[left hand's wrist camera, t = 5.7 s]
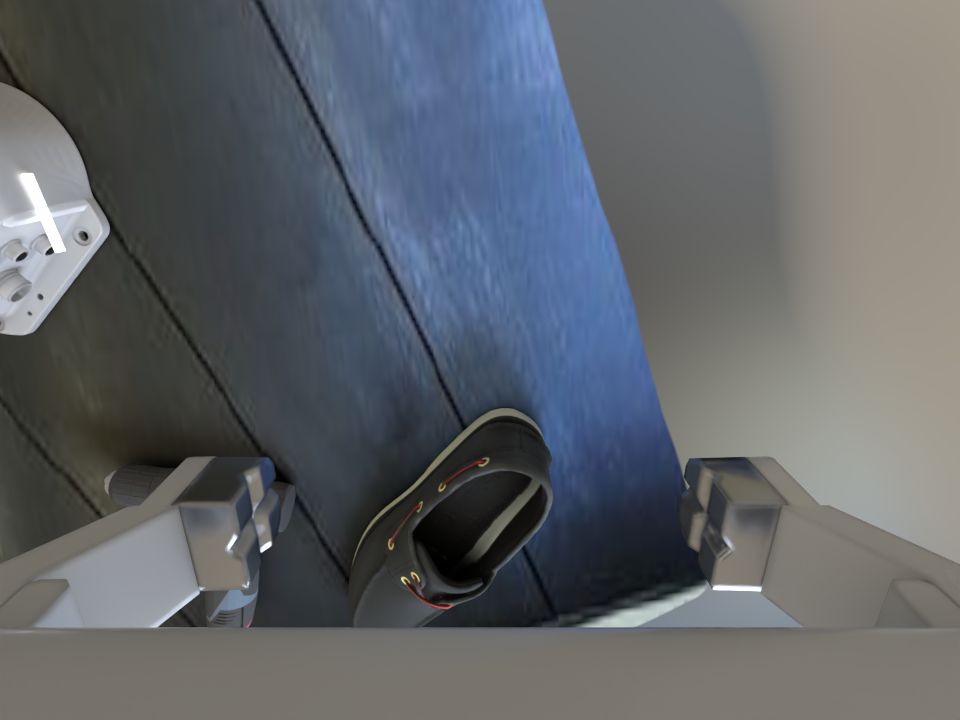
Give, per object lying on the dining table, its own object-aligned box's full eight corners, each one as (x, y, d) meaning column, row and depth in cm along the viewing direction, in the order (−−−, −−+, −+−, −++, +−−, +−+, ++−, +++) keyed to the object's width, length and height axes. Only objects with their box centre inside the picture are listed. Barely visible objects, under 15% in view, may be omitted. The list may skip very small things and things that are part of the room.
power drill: (131, 587, 62) (121, 444, 55) (288, 609, 64) (298, 471, 57) (100, 625, 57) (86, 472, 50) (271, 648, 59) (280, 502, 52)
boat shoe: (310, 570, 62) (281, 649, 52) (499, 388, 53) (506, 445, 43) (394, 621, 66) (382, 704, 56) (585, 459, 56) (609, 526, 47)
